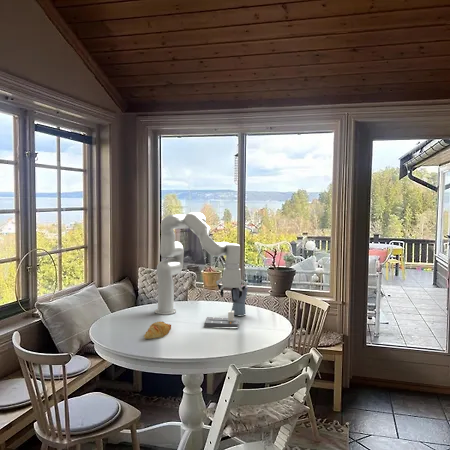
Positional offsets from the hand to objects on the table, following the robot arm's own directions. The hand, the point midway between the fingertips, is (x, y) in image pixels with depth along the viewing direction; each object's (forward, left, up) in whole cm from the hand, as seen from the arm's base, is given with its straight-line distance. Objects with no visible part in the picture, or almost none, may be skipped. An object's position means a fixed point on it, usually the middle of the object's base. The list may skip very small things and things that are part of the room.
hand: (231, 297), depth 252 cm
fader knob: (0, 0, -16) cm, 16 cm away
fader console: (0, -5, -16) cm, 16 cm away
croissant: (+24, -35, -16) cm, 45 cm away
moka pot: (-23, +3, -16) cm, 28 cm away
